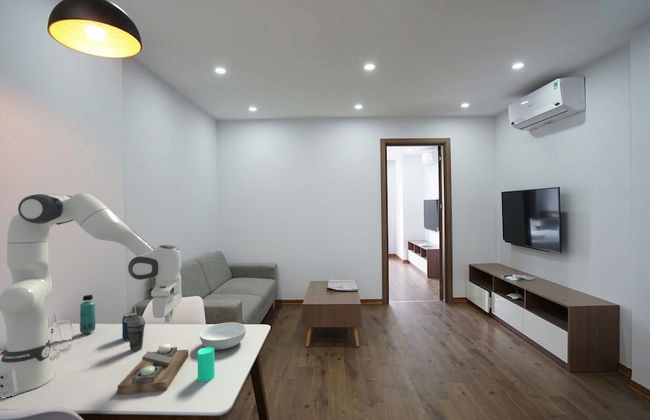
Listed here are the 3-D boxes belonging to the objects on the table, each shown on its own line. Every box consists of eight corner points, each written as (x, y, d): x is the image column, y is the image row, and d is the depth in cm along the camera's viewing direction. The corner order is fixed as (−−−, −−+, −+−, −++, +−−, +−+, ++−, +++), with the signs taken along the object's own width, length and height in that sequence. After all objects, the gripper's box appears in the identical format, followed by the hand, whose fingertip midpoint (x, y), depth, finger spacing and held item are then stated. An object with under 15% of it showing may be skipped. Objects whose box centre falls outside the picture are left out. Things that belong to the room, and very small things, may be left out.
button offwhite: (157, 354, 123) (157, 348, 123) (161, 349, 127) (161, 343, 127) (168, 353, 124) (168, 347, 124) (172, 348, 128) (172, 343, 128)
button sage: (138, 379, 107) (138, 372, 107) (144, 372, 111) (144, 366, 111) (151, 378, 108) (151, 371, 108) (156, 371, 112) (156, 365, 112)
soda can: (131, 341, 146) (131, 316, 146) (118, 340, 147) (118, 316, 147) (142, 335, 153) (141, 312, 153) (130, 334, 154) (130, 311, 154)
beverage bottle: (84, 331, 158) (84, 294, 158) (98, 330, 160) (98, 293, 160) (76, 336, 152) (76, 297, 152) (91, 335, 153) (91, 296, 153)
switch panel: (117, 394, 104) (117, 380, 104) (149, 359, 129) (149, 347, 129) (166, 390, 106) (166, 376, 106) (188, 356, 131) (188, 345, 131)
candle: (215, 379, 113) (215, 347, 113) (198, 383, 110) (198, 351, 110) (213, 371, 118) (212, 341, 118) (196, 375, 115) (196, 345, 115)
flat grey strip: (141, 359, 115) (142, 356, 115) (146, 354, 119) (147, 351, 119) (167, 366, 116) (168, 363, 116) (172, 360, 120) (173, 357, 120)
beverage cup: (130, 354, 133) (130, 309, 133) (124, 350, 137) (124, 306, 137) (148, 348, 138) (148, 305, 138) (141, 344, 143) (141, 302, 143)
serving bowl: (219, 333, 155) (219, 320, 155) (254, 338, 149) (254, 325, 149) (189, 351, 136) (189, 336, 136) (227, 358, 129) (227, 342, 129)
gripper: (170, 280, 128) (170, 312, 128) (148, 293, 108) (148, 331, 108) (185, 280, 129) (185, 311, 129) (167, 292, 109) (167, 330, 108)
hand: (168, 321), depth 118 cm, fingers closed
